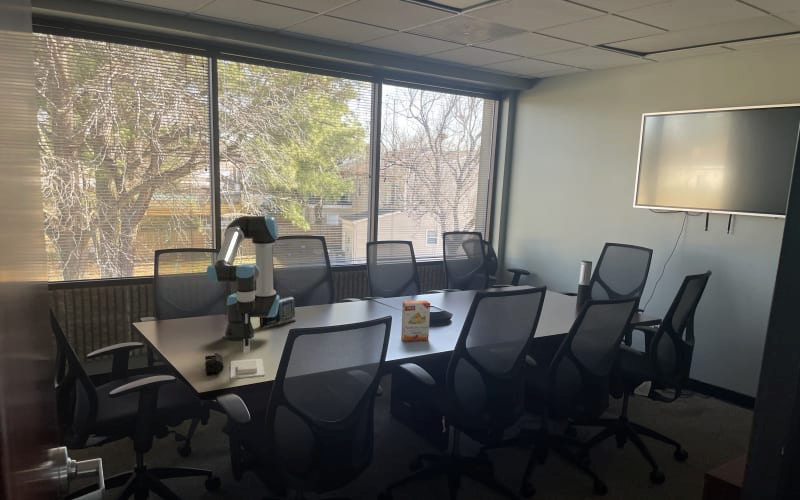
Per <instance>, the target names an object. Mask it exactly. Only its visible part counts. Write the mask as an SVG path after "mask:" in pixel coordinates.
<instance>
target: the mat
mask: <svg viewBox="0 0 800 500" xmlns="http://www.w3.org/2000/svg"><path fill="white" fill-rule="evenodd" d="M253 360H256V364H257V372H256V373H245V374H238V362H241V361H253ZM263 362H264V361H263V358H262V357H261V358H252V359H251V358H250V359H249V358H248V359H239V360H230V377H229V378H230V380H233V379H234V380H235V379H247V378H257V377H265V368H264V363H263Z"/></svg>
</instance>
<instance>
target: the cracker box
mask: <svg viewBox="0 0 800 500" xmlns="http://www.w3.org/2000/svg"><path fill="white" fill-rule="evenodd" d="M401 312H402V313H401V335H400V336H401V337H400V338H401V340H402V341H403V342H416V341H418V342H419V341H421V342H422V341H428V340H429V337H430V335H429V334H430V316H431V315H430V313H431V303H430V302H429V301H428V300H408V301H407V300H405V301H404V300H403V301H402V309H401Z"/></svg>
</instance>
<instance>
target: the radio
mask: <svg viewBox="0 0 800 500" xmlns="http://www.w3.org/2000/svg"><path fill="white" fill-rule="evenodd" d="M295 313H296V311H295V298H294V297H293V296H291V295H289V296H286V297H284V298H280V299H279V307H278V312H277V315H276V316H275V317H268V318H267V317H258V318H259V326H258V327H259V328H261V330H262V329H268V328H271V327H272V328H273V327H276V326H280V325H284V324H289V323H292V322H296V321H297V320H296V317H295V316H296V314H295Z"/></svg>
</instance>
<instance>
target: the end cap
mask: <svg viewBox="0 0 800 500" xmlns="http://www.w3.org/2000/svg"><path fill="white" fill-rule="evenodd" d="M204 360H205V362H204V363H205V366H204V367H205V376H206V377H212V376H217V375H219V374H220V373H222V371H223V370H224V363H223V362H224V360H223V357H222V355H221V354H219V353H218V352H215V353H214V354H213V355H205V356H204Z"/></svg>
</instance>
